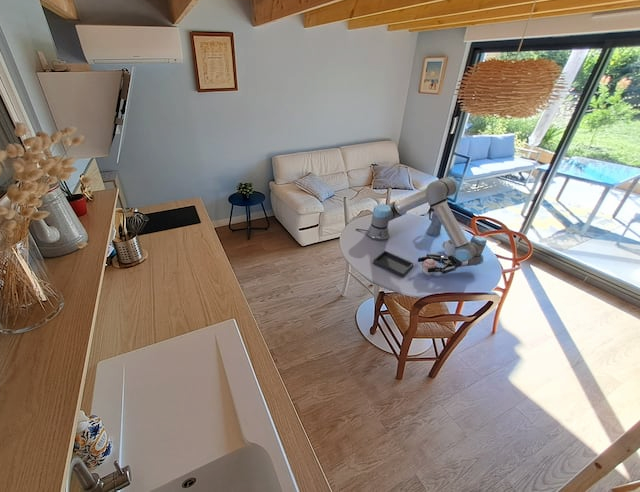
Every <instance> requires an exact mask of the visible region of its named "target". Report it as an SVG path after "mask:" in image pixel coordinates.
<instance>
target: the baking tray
mask: <svg viewBox="0 0 640 492" xmlns="http://www.w3.org/2000/svg"><path fill="white" fill-rule="evenodd" d="M372 264H373V265H375V266H378V267H379V268H381V269H383V270H386V271H388V272H389V273H392V274H394V275H396V276H398V277H400V278H404V277H405V276H406V275H407V274H408V273H409V272H410V270H412V268H413V267H414V262H412V261H409V260H407V259H405V258H403V257H401V256H398V255H395V254H393V253H392V252H389V251H387V250H384V251H382V252H381V253H380V254H379V255H378V256H376V257H375V258H374V259H373V262H372Z"/></svg>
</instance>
